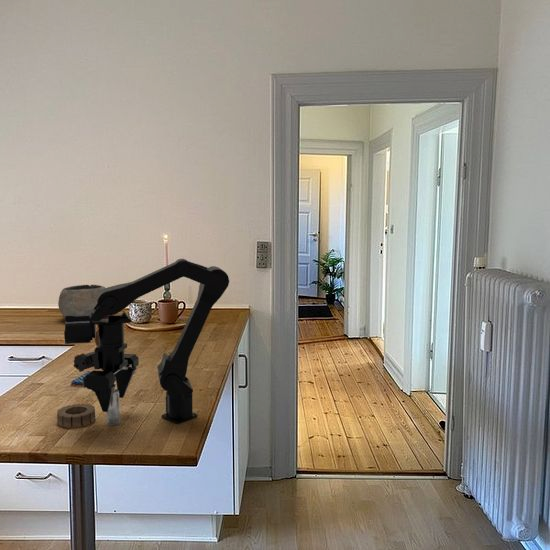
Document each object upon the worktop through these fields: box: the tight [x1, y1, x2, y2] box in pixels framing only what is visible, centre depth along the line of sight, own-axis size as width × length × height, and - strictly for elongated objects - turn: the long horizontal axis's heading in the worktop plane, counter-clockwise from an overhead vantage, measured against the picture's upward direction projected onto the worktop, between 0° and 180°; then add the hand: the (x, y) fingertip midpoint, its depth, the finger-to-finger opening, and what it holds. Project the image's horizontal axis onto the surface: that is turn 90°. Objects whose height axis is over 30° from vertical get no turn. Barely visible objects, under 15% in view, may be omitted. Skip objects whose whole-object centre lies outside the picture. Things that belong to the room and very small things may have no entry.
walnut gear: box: [56, 403, 96, 429], centre depth 135 cm, size 9×9×3 cm
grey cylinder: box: [106, 388, 121, 427], centre depth 133 cm, size 3×3×8 cm
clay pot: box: [57, 284, 106, 318], centre depth 243 cm, size 21×21×15 cm
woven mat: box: [70, 371, 116, 388], centre depth 163 cm, size 10×11×2 cm
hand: (113, 404), depth 133 cm, fingers open, 9 cm apart
